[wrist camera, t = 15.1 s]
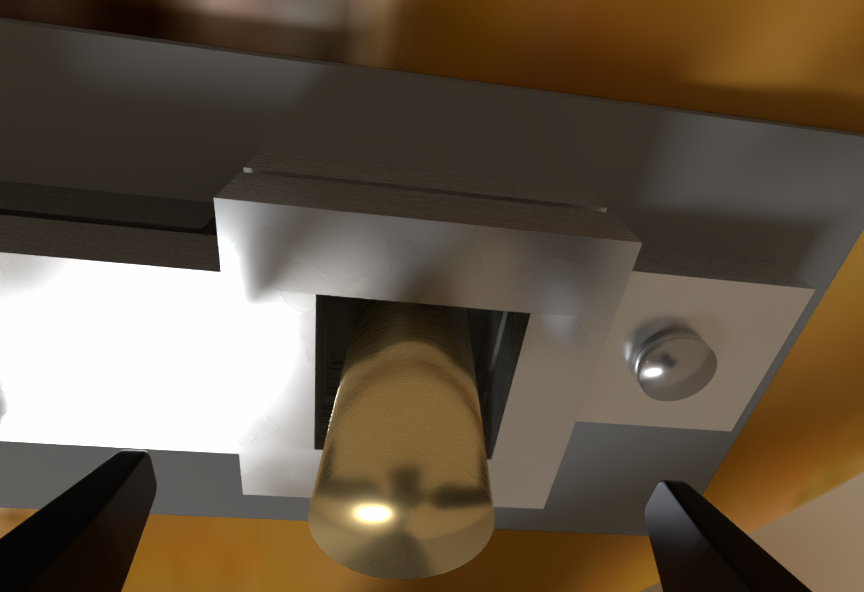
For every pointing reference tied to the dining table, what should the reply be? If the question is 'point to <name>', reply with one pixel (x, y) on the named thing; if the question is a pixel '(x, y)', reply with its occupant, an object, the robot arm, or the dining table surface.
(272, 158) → the grey slotted plate
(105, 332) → the metal latch plate
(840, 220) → the gray rectangular board
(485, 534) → the brass pin
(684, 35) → the dining table surface
